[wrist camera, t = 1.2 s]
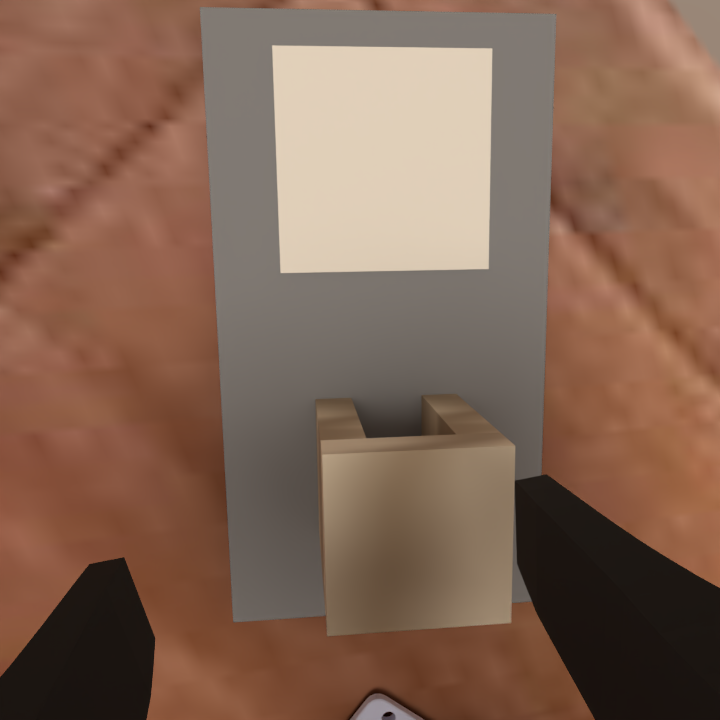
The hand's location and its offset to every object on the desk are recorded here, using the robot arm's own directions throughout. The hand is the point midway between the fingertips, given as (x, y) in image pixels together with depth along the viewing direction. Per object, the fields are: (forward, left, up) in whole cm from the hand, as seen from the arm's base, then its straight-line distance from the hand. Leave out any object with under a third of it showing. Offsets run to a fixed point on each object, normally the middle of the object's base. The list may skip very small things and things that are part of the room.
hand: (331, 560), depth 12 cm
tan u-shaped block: (-3, 0, -10) cm, 10 cm away
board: (0, -4, -11) cm, 11 cm away
